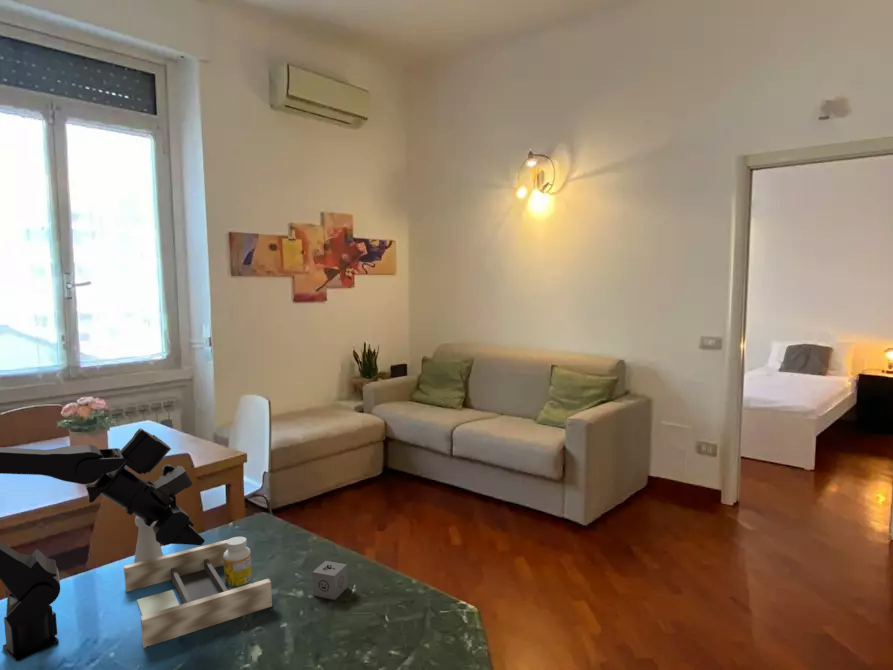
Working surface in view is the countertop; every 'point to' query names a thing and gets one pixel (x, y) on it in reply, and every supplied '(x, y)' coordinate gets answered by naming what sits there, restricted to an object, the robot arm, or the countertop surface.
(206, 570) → the walled lane
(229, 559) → the supplement bottle
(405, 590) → the countertop surface
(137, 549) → the salt shaker
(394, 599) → the countertop surface
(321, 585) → the dice cube
